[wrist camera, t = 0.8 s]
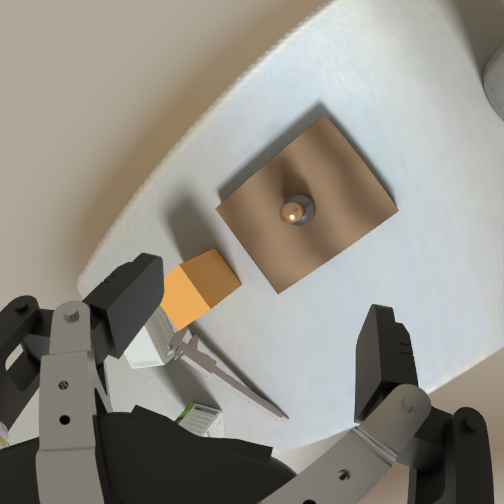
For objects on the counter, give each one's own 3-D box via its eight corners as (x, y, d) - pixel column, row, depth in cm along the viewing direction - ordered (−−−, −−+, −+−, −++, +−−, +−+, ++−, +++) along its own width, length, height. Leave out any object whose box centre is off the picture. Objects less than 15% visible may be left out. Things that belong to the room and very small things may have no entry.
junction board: (327, 118, 31) (324, 114, 29) (397, 208, 30) (399, 210, 29) (223, 206, 38) (215, 208, 36) (283, 288, 37) (278, 294, 36)
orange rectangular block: (215, 248, 40) (178, 264, 32) (241, 284, 39) (210, 309, 32) (187, 271, 42) (150, 290, 35) (212, 305, 42) (178, 331, 34)
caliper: (184, 327, 45) (159, 347, 39) (187, 323, 44) (162, 342, 39) (285, 419, 42) (271, 448, 37) (290, 416, 42) (276, 445, 36)
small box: (150, 355, 49) (131, 369, 45) (130, 313, 49) (108, 325, 44) (184, 349, 46) (164, 366, 41) (162, 303, 45) (140, 316, 41)
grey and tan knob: (304, 187, 32) (291, 189, 27) (321, 211, 32) (312, 217, 27) (282, 205, 33) (266, 210, 29) (299, 228, 33) (286, 237, 28)
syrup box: (222, 409, 46) (174, 470, 33) (225, 433, 47) (182, 492, 34) (192, 400, 48) (140, 455, 35) (196, 425, 49) (150, 478, 36)
